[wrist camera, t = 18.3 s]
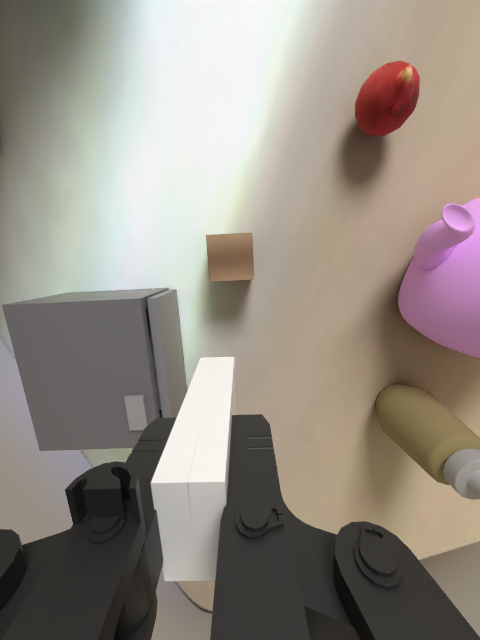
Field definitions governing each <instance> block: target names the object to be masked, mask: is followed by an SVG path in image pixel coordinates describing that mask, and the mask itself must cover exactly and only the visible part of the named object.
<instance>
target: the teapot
mask: <svg viewBox="0 0 480 640" xmlns="http://www.w3.org/2000/svg"><path fill="white" fill-rule="evenodd" d="M442 219H443V220H440V221H437V222H435V223H433V224H432V225H430V226H429V227H428V228H427V229H426V230H425V231H424V232H423V233H422V235H421V236H420V238H419V240H418V242H417V244H416V246H415V250H414V257H413V259H412V261H411V263H410V265H409V267H408V269H407V271H406V274H405V276H404V279H403V281H402V284H401V287H400V291H399V295H398V305H399V310H400V312H401V315H402V317H403V318H404V319H405V321H406V322H407V323H408V324H410V325H411V326H412V327H413V328H415V329H416V330H417V331H418V332H420V333H421V334H423V335H424V336H426V337H427V338H429V339H431V340H432V341H434V342H436V343H438V344H440V345H442V346H444V347H447V348H449V349H452V350H455V351H457V352H460V353H463V354H466V355H469V356H472V357H475V358H479V359H480V198H477V199H474V200H471V201H469V202H467V203H465V204H464V205H459V204H454V203H451V204H448V205H446V206H445V207H444V208H443V210H442Z"/></svg>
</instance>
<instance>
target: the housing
mask: <svg viewBox="0 0 480 640" xmlns="http://www.w3.org/2000/svg"><path fill="white" fill-rule="evenodd" d="M167 290H169V288H156V289H136V290H116V291H96V292H76V293H65V294H59V295H54V296H49V297H43V298H38V299H33V300H27V301H22V302H16V303H11V304H6V305H2V307H3V310H4V314H5V318H6V322H7V326H8V330H9V334H10V337H11V341H12V345H13V349H14V353H15V357H16V361H17V364H18V368H19V372H20V376H21V380H22V384H23V387H24V391H25V395H26V399H27V403H28V407H29V410H30V414H31V418H32V422H33V426H34V430H35V434H36V438H37V441H38V445H39V449H40V451H46V450H47V451H48V450H78V449H107V448H134V447H135V445H136V443H138V439H139V438H140V436H141V434H142V432H143V430H144V429H145V428H146V427H147V426H148V425H149V424H150V423H151V422H153V421H154V420H155V419H156V418H163V417H162V410H159V407H158V399H157V392H156V384H155V377H154V369H153V362H152V355H151V347H150V340H149V332H148V325H147V318H146V310H145V308H147V307H148V304H147V298H149V297H152V296H154V295H157V294H159V293H162V292H164V291H167Z"/></svg>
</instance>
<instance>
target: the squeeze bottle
mask: <svg viewBox="0 0 480 640" xmlns="http://www.w3.org/2000/svg"><path fill="white" fill-rule="evenodd" d="M376 409H377V413H378V416H379V420H380V423H381V425H382V428H383V430H384V432H385V433H386V434H387V435H388V436H389V437H391V438H392V439H393V440H394V441H395V442H396V443H397V444H398V445H399V446H400V447H401V448H402V449H403V450H404V451H405V452H406V453H407V454H408V455H409V456H410V457H411V458H412V459H413V460H414V461H415V462H417V463H418V464H419V465H420V466H421V467H422V468H423V469H424V470H425V471H426V472H427V473H428V474H429V475H430V476H431V477H432V478H434V479H435V480H436V481H437V482H440V483H443V484H446V485H451V486H452V487H453V488H454V489H455V491H456V492H458V493H459V494H460V495H461V496H462V497H465V498H468V499H480V438H479V437H478V436H477V435H476V434H475V433H474V432H473V431H472V430H470V429H469V428H468V427H467V426H466V425H465V424H464V423H463V422H462V421H461V420H459V419H458V418H457V417H456V416H455V415H454V414H453V413H452V412H451V411H450V410H448V409H447V408H446V407H445V406H444V405H443V404H442V403H441V402H440V401H439V400H437V399H436V398H435V397H434V396H433V395H432V394H431V393H430V392H428V391H425V390H422V389H419V388H415V387H411V386H407V385H403V384H392V385H390V386H388V387H385V388H384V389H383V390H382V391H381V392H380V393H379V395H378V397H377V399H376Z"/></svg>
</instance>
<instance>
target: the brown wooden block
mask: <svg viewBox="0 0 480 640" xmlns="http://www.w3.org/2000/svg"><path fill="white" fill-rule="evenodd" d="M206 241H207V254H208V267H209V280H210V282H213V281H233V280H253V279H254V265H253V239H252V233H237V234H219V235H206Z"/></svg>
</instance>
